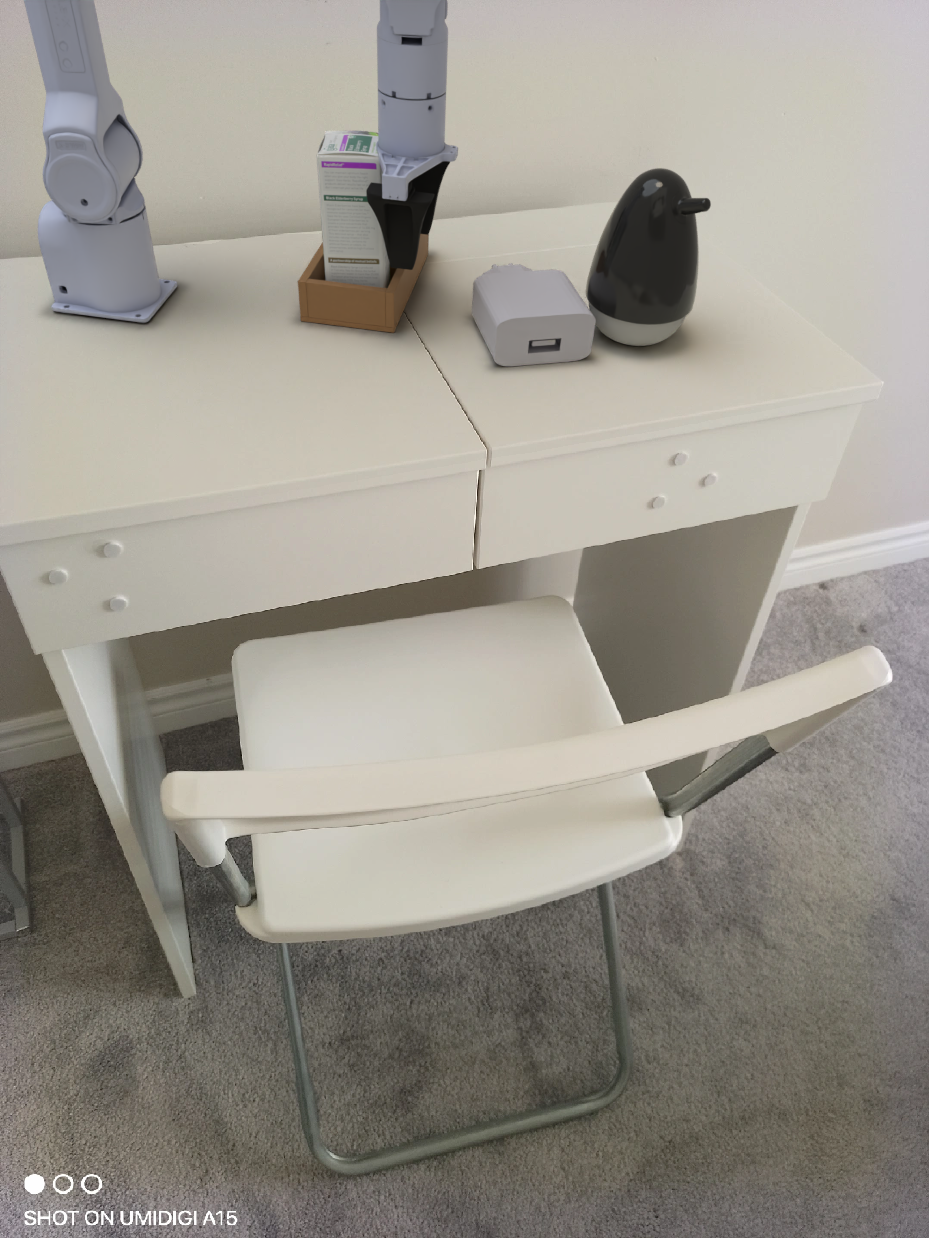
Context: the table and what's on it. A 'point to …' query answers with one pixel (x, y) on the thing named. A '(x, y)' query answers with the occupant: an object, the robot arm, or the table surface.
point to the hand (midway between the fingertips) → (410, 249)
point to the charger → (531, 316)
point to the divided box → (357, 296)
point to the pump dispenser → (647, 261)
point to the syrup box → (351, 209)
